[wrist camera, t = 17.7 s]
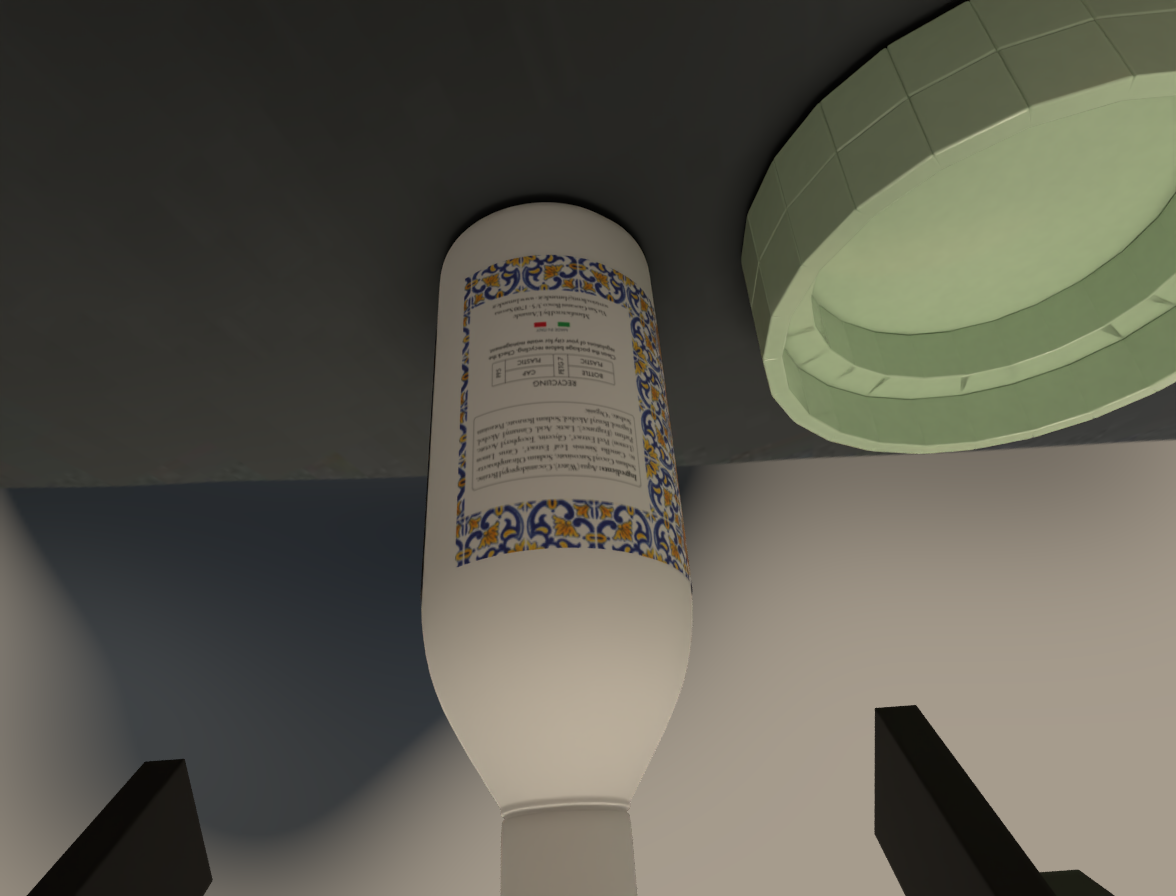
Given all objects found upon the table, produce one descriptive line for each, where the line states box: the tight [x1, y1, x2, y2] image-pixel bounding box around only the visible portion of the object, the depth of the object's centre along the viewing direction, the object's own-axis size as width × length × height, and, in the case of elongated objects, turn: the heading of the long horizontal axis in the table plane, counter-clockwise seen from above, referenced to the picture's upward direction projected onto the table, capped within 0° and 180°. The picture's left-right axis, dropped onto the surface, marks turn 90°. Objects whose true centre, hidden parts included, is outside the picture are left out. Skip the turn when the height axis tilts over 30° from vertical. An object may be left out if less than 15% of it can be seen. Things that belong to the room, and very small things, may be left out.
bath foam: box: [420, 202, 693, 896], centre depth 21 cm, size 7×7×20 cm
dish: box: [741, 0, 1176, 454], centre depth 24 cm, size 15×15×4 cm
